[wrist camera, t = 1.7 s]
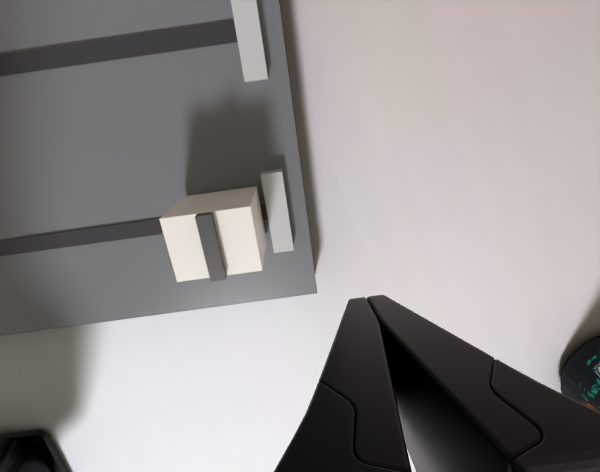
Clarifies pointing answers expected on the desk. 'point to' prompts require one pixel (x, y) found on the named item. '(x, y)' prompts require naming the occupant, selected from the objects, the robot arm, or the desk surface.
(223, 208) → the white fader
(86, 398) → the desk surface
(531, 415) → the robot arm
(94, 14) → the console
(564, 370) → the beverage can
